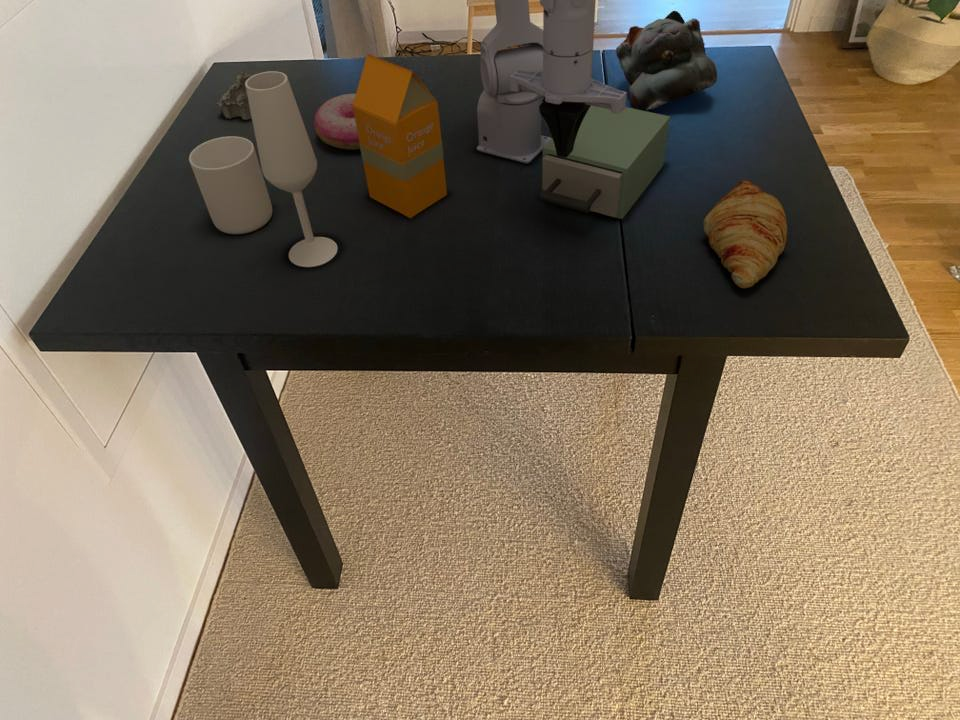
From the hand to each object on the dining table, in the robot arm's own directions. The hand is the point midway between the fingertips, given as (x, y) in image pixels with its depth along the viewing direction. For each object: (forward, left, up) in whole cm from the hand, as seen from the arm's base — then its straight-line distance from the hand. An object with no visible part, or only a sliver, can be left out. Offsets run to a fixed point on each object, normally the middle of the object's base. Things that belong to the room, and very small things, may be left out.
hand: (564, 153), depth 94 cm
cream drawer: (+1, +7, -10) cm, 12 cm away
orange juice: (-23, -4, -11) cm, 26 cm away
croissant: (+23, +6, -11) cm, 26 cm away
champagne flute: (-27, -22, -11) cm, 36 cm away
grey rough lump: (-65, +6, -11) cm, 66 cm away
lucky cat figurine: (-1, +40, -11) cm, 41 cm away
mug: (-42, -18, -11) cm, 47 cm away
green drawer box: (+1, +12, -10) cm, 16 cm away
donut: (-41, +6, -11) cm, 43 cm away
